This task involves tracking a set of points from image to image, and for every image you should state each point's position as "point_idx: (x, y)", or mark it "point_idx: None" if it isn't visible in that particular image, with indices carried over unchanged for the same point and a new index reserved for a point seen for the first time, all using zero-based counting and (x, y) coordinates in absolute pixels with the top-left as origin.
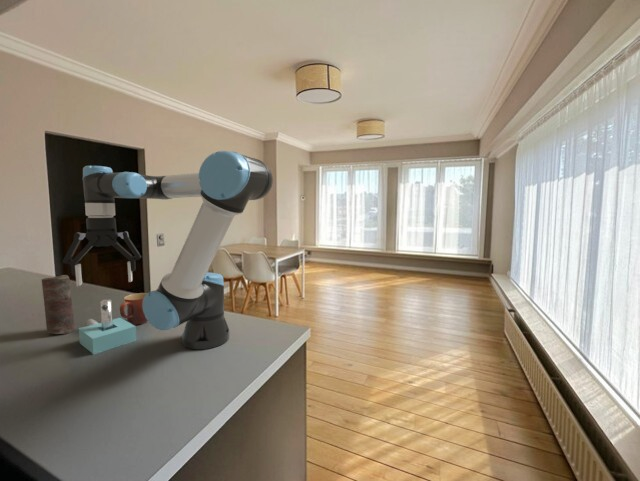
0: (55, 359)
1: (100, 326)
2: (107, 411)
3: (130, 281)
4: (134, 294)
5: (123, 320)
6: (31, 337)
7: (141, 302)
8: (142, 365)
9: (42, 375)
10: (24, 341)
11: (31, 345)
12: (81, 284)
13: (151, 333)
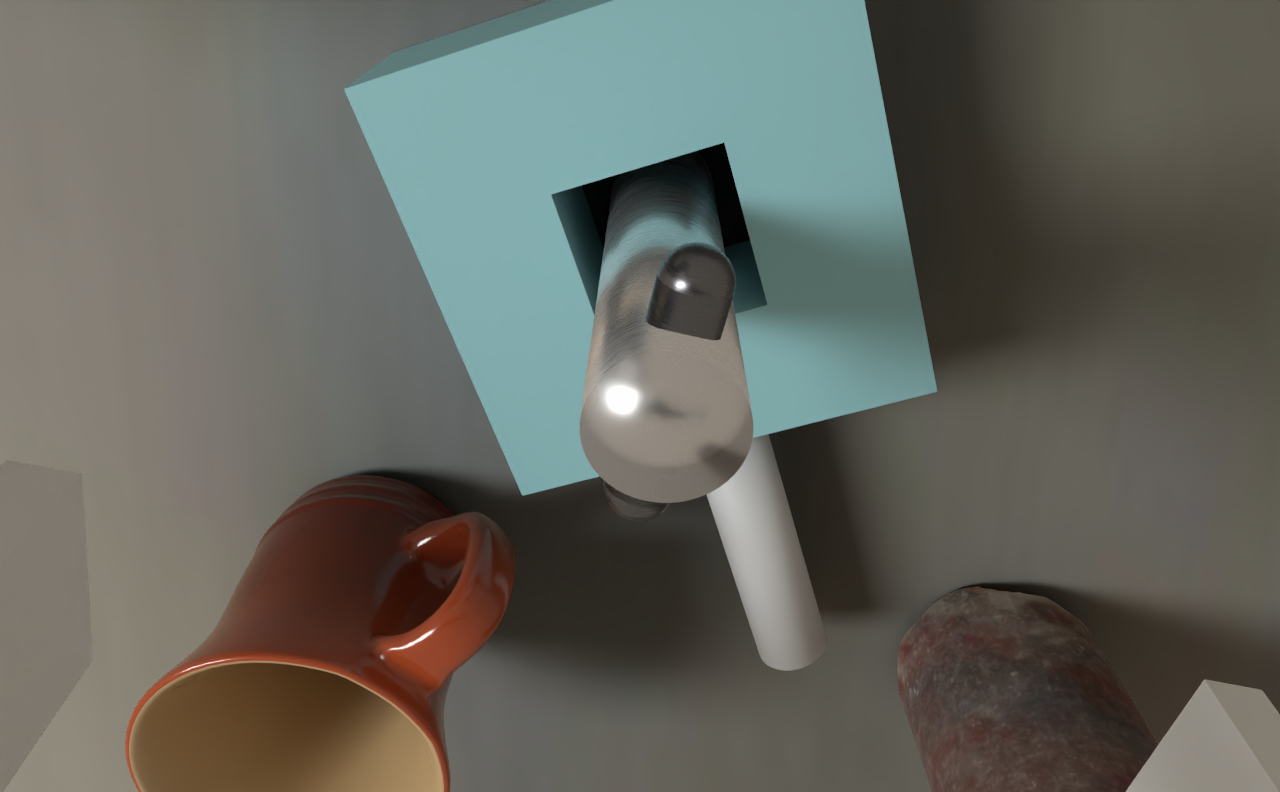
0: (1133, 21)
1: None
2: None
3: (19, 473)
4: None
5: (489, 384)
6: (1191, 647)
7: (249, 630)
8: None
9: None
10: (1247, 594)
11: (1225, 484)
12: (1133, 782)
13: (242, 173)
